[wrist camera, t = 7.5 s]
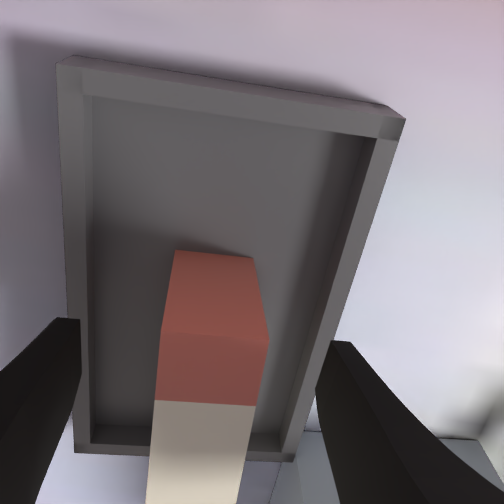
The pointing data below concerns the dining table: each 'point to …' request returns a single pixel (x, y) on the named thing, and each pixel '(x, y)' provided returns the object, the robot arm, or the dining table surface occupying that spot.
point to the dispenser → (321, 478)
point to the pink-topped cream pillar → (206, 379)
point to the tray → (208, 228)
